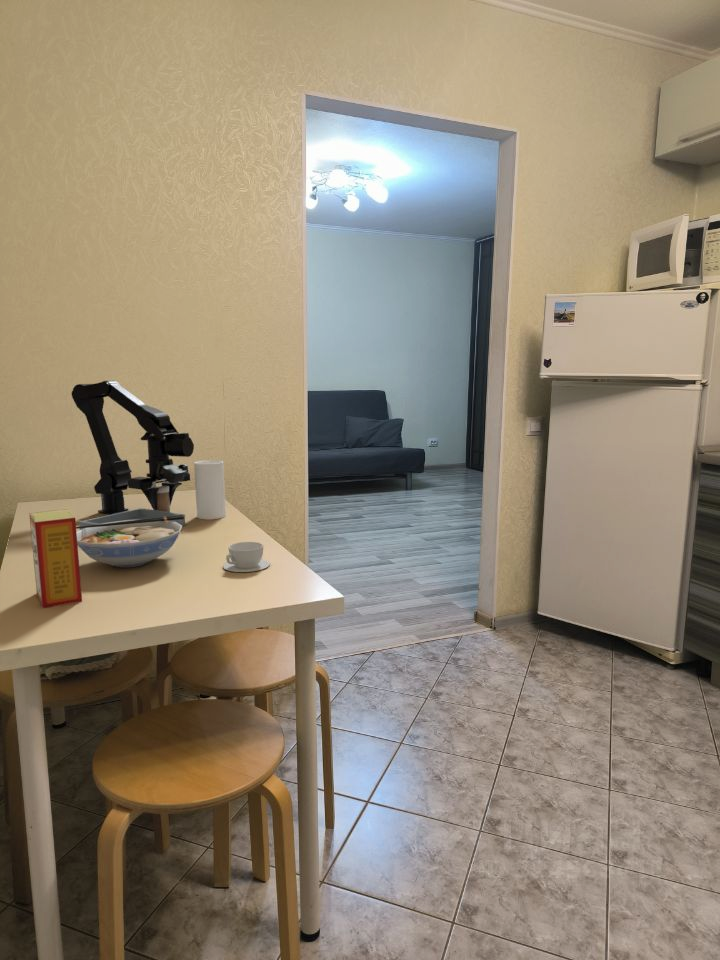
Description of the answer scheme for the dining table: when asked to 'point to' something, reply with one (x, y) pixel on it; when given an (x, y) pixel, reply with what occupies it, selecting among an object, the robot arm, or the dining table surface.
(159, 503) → the shaker
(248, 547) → the teacup
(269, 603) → the dining table surface
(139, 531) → the ramen bowl
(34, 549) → the baking soda box
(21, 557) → the dining table surface
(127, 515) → the tray
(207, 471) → the cup
